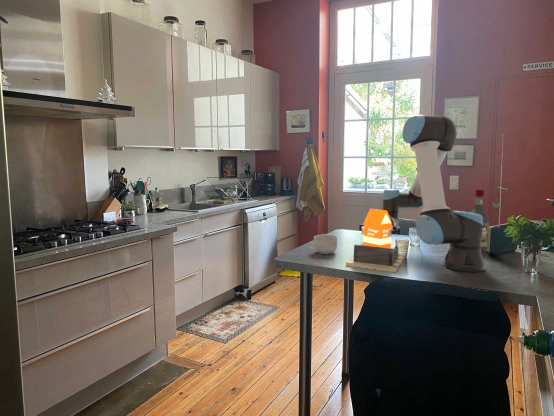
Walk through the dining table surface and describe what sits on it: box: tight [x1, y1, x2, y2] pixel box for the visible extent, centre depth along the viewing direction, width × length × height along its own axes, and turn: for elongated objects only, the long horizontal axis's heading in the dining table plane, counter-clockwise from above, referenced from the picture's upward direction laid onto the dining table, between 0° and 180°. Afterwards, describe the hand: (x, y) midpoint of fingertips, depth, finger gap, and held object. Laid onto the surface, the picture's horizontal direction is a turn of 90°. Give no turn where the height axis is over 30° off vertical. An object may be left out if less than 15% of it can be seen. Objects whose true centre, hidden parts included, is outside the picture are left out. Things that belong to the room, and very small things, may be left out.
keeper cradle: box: [345, 242, 405, 273], centre depth 173 cm, size 22×20×8 cm
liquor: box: [469, 188, 491, 253], centre depth 199 cm, size 9×9×30 cm
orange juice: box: [362, 208, 392, 248], centre depth 172 cm, size 8×9×20 cm
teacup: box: [313, 233, 338, 255], centre depth 191 cm, size 14×11×8 cm
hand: (375, 232), depth 168 cm, fingers closed on orange juice, 10 cm apart
